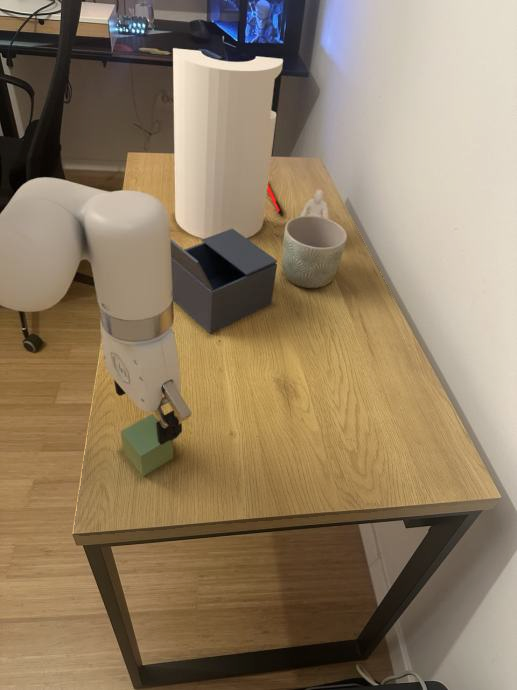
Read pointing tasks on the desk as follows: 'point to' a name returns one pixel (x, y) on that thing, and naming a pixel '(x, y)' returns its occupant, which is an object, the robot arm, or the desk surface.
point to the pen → (274, 200)
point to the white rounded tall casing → (222, 141)
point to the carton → (225, 280)
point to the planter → (312, 250)
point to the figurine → (316, 206)
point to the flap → (189, 263)
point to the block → (145, 445)
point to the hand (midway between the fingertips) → (148, 412)
